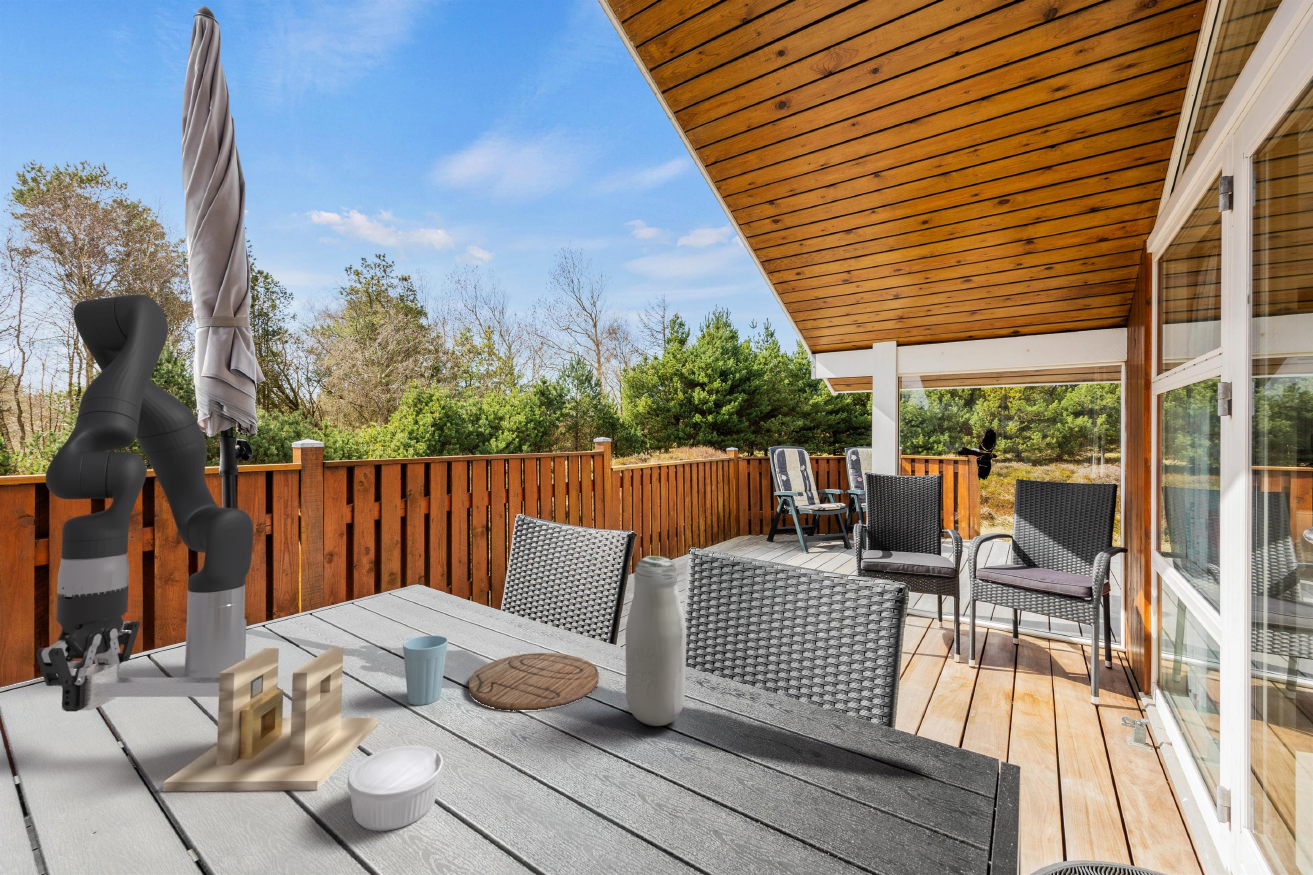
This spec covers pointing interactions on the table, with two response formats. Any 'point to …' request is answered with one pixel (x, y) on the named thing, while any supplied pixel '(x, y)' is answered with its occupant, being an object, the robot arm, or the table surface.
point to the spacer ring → (251, 723)
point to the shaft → (147, 686)
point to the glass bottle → (655, 644)
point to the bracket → (307, 737)
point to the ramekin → (394, 786)
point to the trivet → (533, 681)
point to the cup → (424, 668)
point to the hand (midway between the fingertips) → (89, 702)
